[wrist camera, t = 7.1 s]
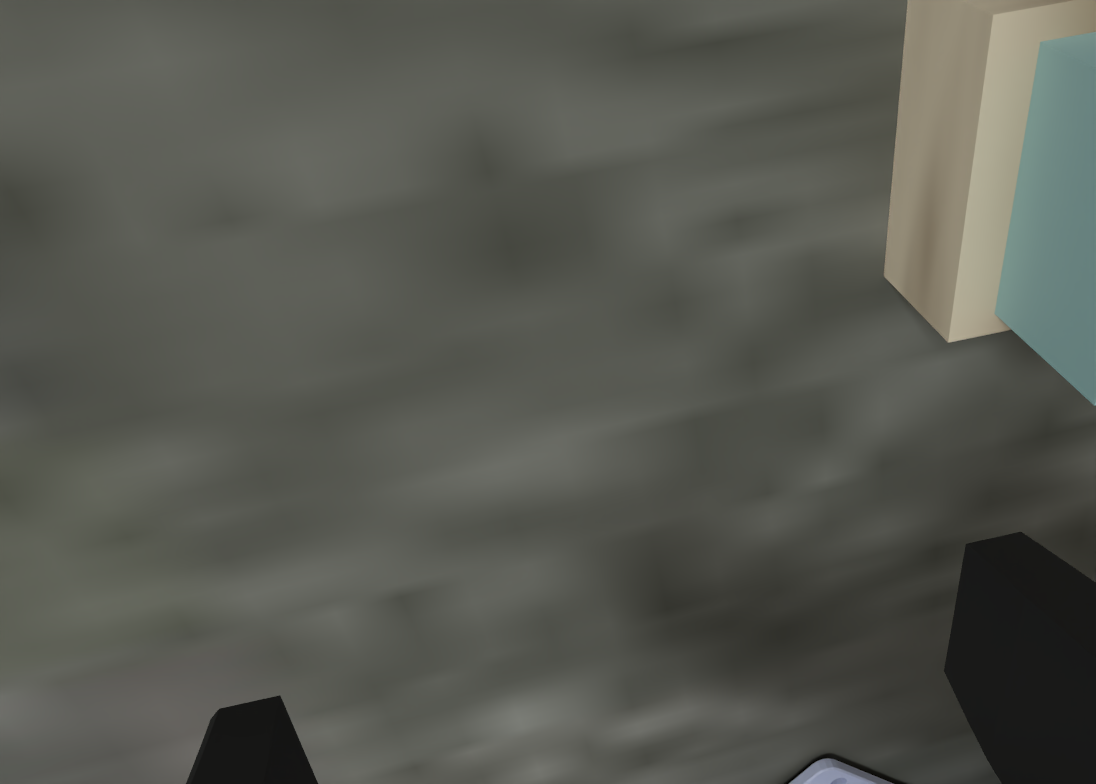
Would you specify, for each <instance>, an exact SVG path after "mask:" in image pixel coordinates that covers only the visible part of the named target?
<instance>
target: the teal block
mask: <svg viewBox="0 0 1096 784" xmlns="http://www.w3.org/2000/svg"><path fill="white" fill-rule="evenodd" d="M995 315H996V316H998V317H999V318H1000V319H1001V320H1002V321H1003V322H1004V323H1005V324H1006V325H1007V326H1008V327H1009V328H1011V329H1012V330H1013V331H1014V332H1015V333H1016V334H1017V335H1018V336H1019V337H1020V338H1021V339H1023V340H1024V341H1025V342H1026V343H1027V344H1028V345H1029V346H1030V347H1031V348H1032V349H1033V350H1034V351H1036V352H1037V353H1038V354H1039V355H1040V356H1041V357H1042V358H1043V359H1044V360H1045V361H1046V362H1047V363H1049V364H1050V365H1051V366H1052V367H1053V368H1054V369H1055V370H1056V371H1057V372H1058V373H1059V374H1061V375H1062V376H1063V377H1064V378H1065V379H1066V380H1067V381H1068V382H1069V383H1070V384H1071V385H1072V386H1074V387H1075V388H1076V389H1077V390H1078V391H1079V392H1080V393H1081V394H1082V395H1083V396H1084V397H1086V398H1087V399H1088V400H1089V401H1090V402H1091V403H1092V404H1093V405H1094V406H1096V32H1092V33H1087V34H1081V35H1075V36H1070V37H1064V38H1059V39H1053V40H1047V41H1042V42H1040V47H1039V53H1038V59H1037V65H1036V71H1035V76H1034V82H1033V88H1032V94H1031V100H1030V106H1029V112H1028V118H1027V124H1026V130H1025V136H1024V142H1023V148H1022V154H1021V159H1020V165H1019V171H1018V177H1017V183H1016V189H1015V195H1014V201H1013V207H1012V213H1011V219H1010V225H1009V231H1008V237H1007V242H1006V248H1005V254H1004V260H1003V266H1002V272H1001V278H1000V284H999V290H998V296H997V302H996V308H995Z"/></svg>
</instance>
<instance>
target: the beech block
mask: <svg viewBox="0 0 1096 784" xmlns="http://www.w3.org/2000/svg"><path fill="white" fill-rule="evenodd" d="M1092 32H1096V0H908V5H907V16H906V28H905V39H904V51H903V62H902V74H901V85H900V96H899V108H898V119H897V131H896V142H895V154H894V165H893V177H892V188H891V199H890V211H889V222H888V234H887V245H886V257H885V268H884V277H885V278H886V279H887V280H888V281H889V282H890V283H891V284H892V285H893V286H894V287H895V288H896V289H897V290H898V291H899V292H900V293H901V294H902V295H903V296H904V297H905V299H906V300H907V301H908V302H909V303H910V304H911V305H912V306H913V307H914V308H915V309H916V310H917V311H918V312H919V313H920V314H921V315H922V316H923V317H924V318H925V319H926V320H927V321H928V322H929V323H930V324H931V325H932V326H933V327H934V329H935V330H936V331H937V332H938V333H939V334H940V335H941V336H942V337H943V338H944V339H945V340H946V341H947V342H948V343H949V342H954V341H959V340H963V339H968V338H973V337H978V336H983V335H988V334H993V333H998V332H1002V331H1007V330H1012V329H1011V328H1009V327H1008V326H1007V325H1006V324H1005V323H1004V322H1003V321H1002V320H1001V319H1000V318H999V317H998V316H996V315H995V308H996V302H997V296H998V290H999V284H1000V278H1001V272H1002V266H1003V260H1004V254H1005V248H1006V242H1007V237H1008V231H1009V225H1010V219H1011V213H1012V207H1013V201H1014V195H1015V189H1016V183H1017V177H1018V171H1019V165H1020V159H1021V154H1022V148H1023V142H1024V136H1025V130H1026V124H1027V118H1028V112H1029V106H1030V100H1031V94H1032V88H1033V82H1034V76H1035V71H1036V65H1037V59H1038V53H1039V47H1040V42H1042V41H1047V40H1053V39H1059V38H1064V37H1070V36H1075V35H1081V34H1087V33H1092Z"/></svg>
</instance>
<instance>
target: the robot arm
mask: <svg viewBox="0 0 1096 784" xmlns="http://www.w3.org/2000/svg"><path fill="white" fill-rule="evenodd" d="M944 672H945V674H946V676H947V678H948V680H949V682H950V684H951V686H952V689H953V691H954V693H955V695H956V697H957V699H958V701H959V703H960V705H961V708H962V710H963V712H964V714H965V716H966V718H967V720H968V722H969V724H970V726H971V728H972V730H973V732H974V734H975V736H976V738H977V740H978V742H979V744H980V746H981V748H982V750H983V752H984V754H985V756H986V758H987V760H988V762H989V763H990V765H991V766H992V768H993V770H994V771H995V773H996V774H997V776H998V778H999V779H1000V781H1001V782H1002V784H1096V583H1095V582H1094V581H1092V580H1091V579H1089V578H1088V577H1087V576H1085V575H1084V574H1082V573H1081V572H1079V571H1078V570H1076V569H1075V568H1073V567H1072V566H1071V565H1069V564H1068V563H1066V562H1065V561H1063V560H1062V559H1060V558H1059V557H1057V556H1056V555H1055V554H1053V553H1052V552H1050V551H1049V550H1047V549H1046V548H1044V547H1043V546H1041V545H1040V544H1038V543H1037V542H1035V541H1034V540H1032V539H1031V538H1029V537H1028V536H1026V535H1025V534H1023V533H1022V532H1018V533H1013V534H1009V535H1004V536H1000V537H995V538H991V539H986V540H982V541H977V542H973V543H968V544H966V547H965V552H964V558H963V564H962V570H961V576H960V582H959V587H958V593H957V599H956V605H955V611H954V617H953V623H952V628H951V634H950V640H949V646H948V652H947V658H946V663H945V669H944ZM186 784H318V783H317V780H316V778H315V776H314V773H313V771H312V769H311V766H310V764H309V762H308V759H307V757H306V755H305V752H304V750H303V748H302V745H301V743H300V741H299V738H298V736H297V734H296V731H295V729H294V727H293V724H292V722H291V720H290V717H289V715H288V713H287V710H286V708H285V706H284V703H283V701H282V699H281V696H276V697H271V698H267V699H262V700H257V701H253V702H248V703H244V704H239V705H235V706H230V707H226V708H221V709H219V710H218V711H217V712H216V713H215V715H214V716H213V717H212V718H211V720H210V723H209V726H208V728H207V731H206V734H205V736H204V739H203V742H202V744H201V747H200V750H199V752H198V755H197V757H196V760H195V762H194V765H193V768H192V770H191V773H190V775H189V778H188V780H187V783H186ZM789 784H893V783H891V782H889V781H886V780H884V779H881V778H879V777H876V776H874V775H871V774H869V773H866V772H864V771H862V770H859V769H857V768H854V767H852V766H849V765H847V764H844V763H842V762H840V761H837V760H835V759H830V758H826V759H821V760H818V761H816V762H815V763H813V764H812V765H810V766H809V767H808V768H807V769H806V770H804V771H803V772H802V773H801V774H800V775H798V776H797V777H796V778H795V779H794V780H792V781H791V782H790V783H789Z"/></svg>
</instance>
